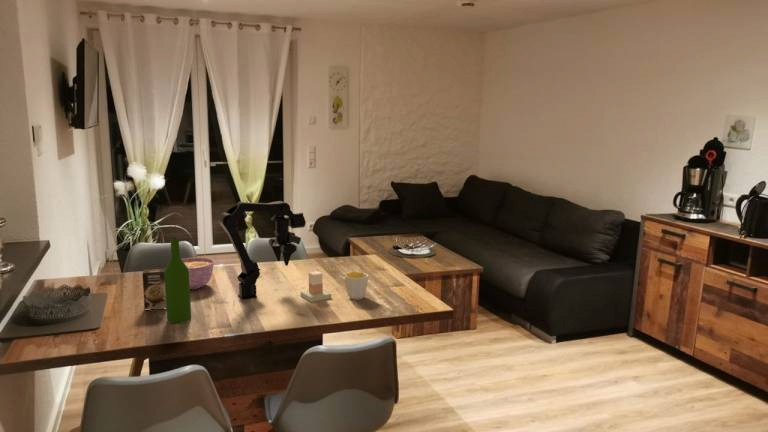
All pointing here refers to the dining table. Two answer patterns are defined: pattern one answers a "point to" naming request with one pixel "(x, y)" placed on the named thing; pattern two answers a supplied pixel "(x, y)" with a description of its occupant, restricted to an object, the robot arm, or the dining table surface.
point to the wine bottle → (177, 287)
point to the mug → (356, 285)
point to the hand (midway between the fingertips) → (282, 263)
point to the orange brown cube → (315, 288)
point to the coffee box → (154, 289)
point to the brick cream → (315, 278)
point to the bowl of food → (199, 271)
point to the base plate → (315, 296)
